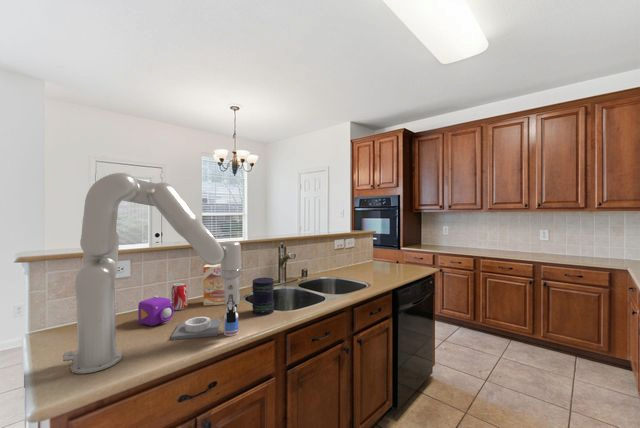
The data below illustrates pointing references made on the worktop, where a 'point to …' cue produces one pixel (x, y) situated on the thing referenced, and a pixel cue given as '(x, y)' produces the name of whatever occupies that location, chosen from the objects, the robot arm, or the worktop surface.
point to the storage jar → (263, 296)
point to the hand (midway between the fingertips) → (232, 317)
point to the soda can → (179, 296)
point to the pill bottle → (230, 325)
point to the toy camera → (155, 311)
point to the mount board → (196, 328)
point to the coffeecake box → (213, 285)
